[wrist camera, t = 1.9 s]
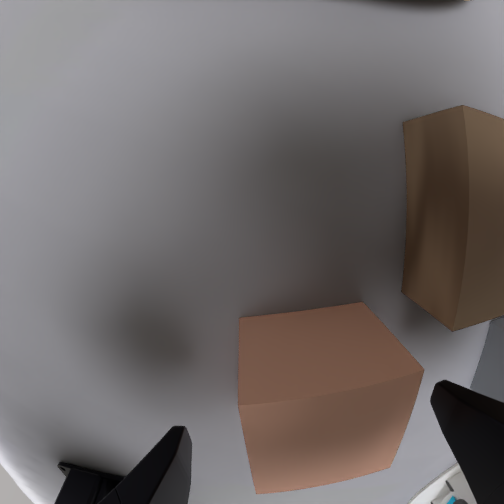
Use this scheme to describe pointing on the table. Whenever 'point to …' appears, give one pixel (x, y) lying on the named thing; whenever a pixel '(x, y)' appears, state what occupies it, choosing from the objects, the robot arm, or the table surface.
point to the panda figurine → (446, 489)
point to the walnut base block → (455, 215)
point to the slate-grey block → (491, 364)
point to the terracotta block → (322, 395)
